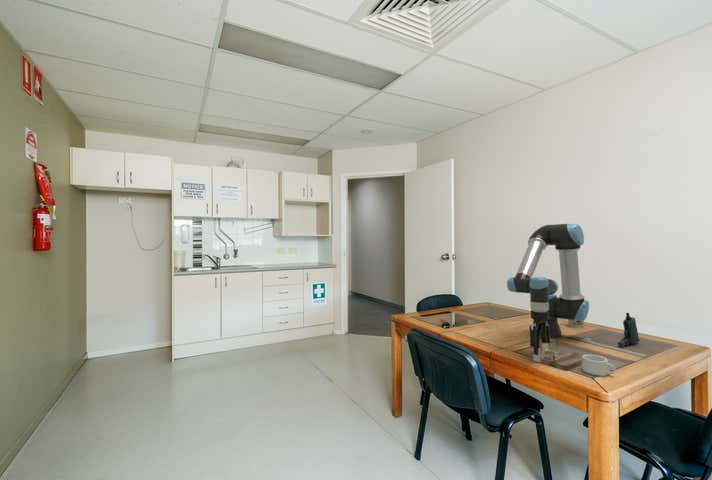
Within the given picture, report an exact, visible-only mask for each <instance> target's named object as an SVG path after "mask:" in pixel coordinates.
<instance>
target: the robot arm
mask: <svg viewBox="0 0 712 480" xmlns="http://www.w3.org/2000/svg"><path fill="white" fill-rule="evenodd" d="M584 243H585V234H584V232H583V228H582V227H581V225H580V224H578V223H559V224H545V225H542V226H540V227H539V228H537V229H536V230H535V231H534V232H533V233H532V234H531V235H530V237H529V238H528V241H527V245H528V246H527V248H526V250H525V252H524V255H523V258H522V260H521V262H520V264H519V267H518V269H517V272H516V274H515V276H514V277H509V278H508V279H507V281H506V288H507V289H508V291H509V292H513V293H519V294H529V297H530V298H529V299H530V304H529V305H530V306H529V307H530V318H531V320H533V321H532V325H529V326H528V327H529V336H530V337H529V339H530V340H529V344H530V347H531V348H532V347H534V360H533V361H534V362H537V363H541V353H540V348H539V344H540V342H544V343H548V344H549V347H550V345H551V338H554V339H555V338H561V336H562V329H561V328H560V324H559V322H558V319H563V320H574V321H584V322H585V320H587V317H588V314H589V309H590V303H589V300H587V299H585V296H584V295H583V294H582V293H581V284H580V283H581V282H580V268H579V255H578V251H579V250H580V249H581V246H583V245H584ZM549 246H555V247H554V248H555V250H556V251H557V252H558V255H559V256H558V258H559V269H560V282H561V294H560V295H559V297H558V296H557V294H555V293H557V292H558V291H559V284H558V282H557V281H556V280H554V279H551V278H547V277H543V276H542V277H541V276H534V273H535V270H536V268H537V265H538V263H539V260H540V258H541V256H542V253H543V251H544V250H545V249H546V248H547V247H549Z"/></svg>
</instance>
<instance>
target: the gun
mask: <svg viewBox="0 0 712 480" xmlns="http://www.w3.org/2000/svg"><path fill="white" fill-rule="evenodd" d="M625 315H626V316H625V319H624V320H623V321H622V322H623V323H622V324H623V330H624V331H623V335H624V337H623V338H621V339H620V341H618V342H617V345H618V348H621V349H623V348H624V346H626V347H628V346H629V345H631V346H635V345H636V344H637V343H639V342H641V340H640V338H639V333H638V332H639V331H638V328H637V323H636V322H637V321H636V318H635V317H632V316H630V313H629V312H626V313H625Z"/></svg>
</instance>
